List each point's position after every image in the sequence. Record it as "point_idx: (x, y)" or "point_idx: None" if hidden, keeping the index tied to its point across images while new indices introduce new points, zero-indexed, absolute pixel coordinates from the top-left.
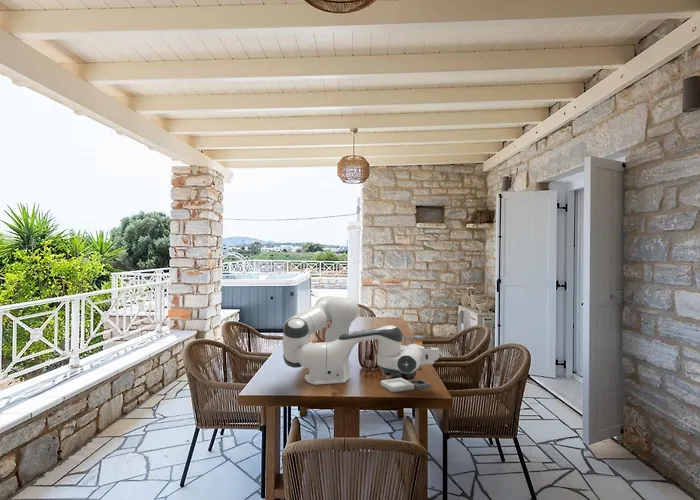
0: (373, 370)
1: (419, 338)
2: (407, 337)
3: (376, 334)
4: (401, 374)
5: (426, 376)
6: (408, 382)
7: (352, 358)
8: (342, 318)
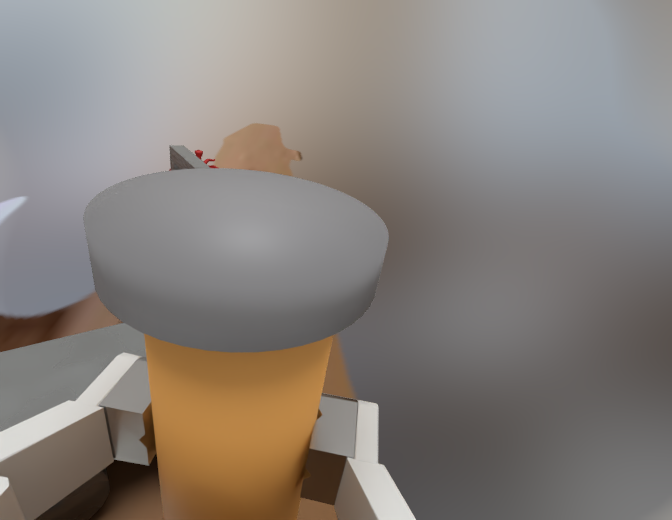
0: (8, 329)
1: (270, 321)
2: (189, 162)
3: None
4: (104, 484)
5: None
6: None
7: (7, 213)
8: None
